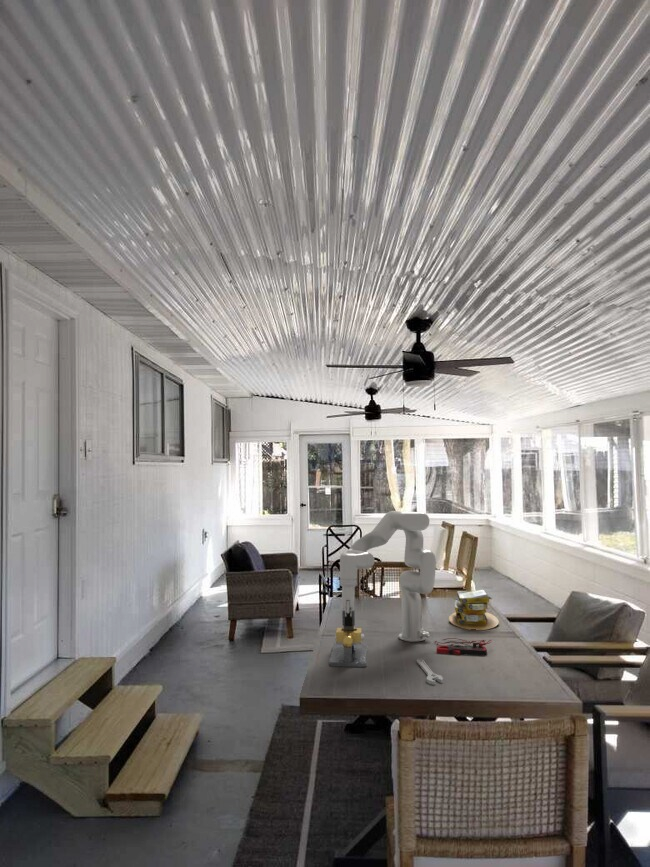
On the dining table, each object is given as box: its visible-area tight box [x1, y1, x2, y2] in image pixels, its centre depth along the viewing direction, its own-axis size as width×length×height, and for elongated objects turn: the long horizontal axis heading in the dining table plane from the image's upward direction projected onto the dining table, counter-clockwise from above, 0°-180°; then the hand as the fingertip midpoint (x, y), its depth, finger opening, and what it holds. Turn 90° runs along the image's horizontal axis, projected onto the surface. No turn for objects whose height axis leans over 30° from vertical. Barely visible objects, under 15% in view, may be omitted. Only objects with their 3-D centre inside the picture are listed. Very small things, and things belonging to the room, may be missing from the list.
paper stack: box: [448, 589, 500, 631], centre depth 287 cm, size 25×25×17 cm
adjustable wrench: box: [416, 658, 444, 686], centre depth 217 cm, size 25×6×2 cm, turn 1°
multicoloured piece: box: [328, 625, 368, 668], centre depth 237 cm, size 25×15×11 cm, turn 174°
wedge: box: [341, 609, 356, 631], centre depth 237 cm, size 2×5×12 cm, turn 85°
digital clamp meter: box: [434, 637, 492, 656], centre depth 248 cm, size 23×4×25 cm
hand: (348, 624), depth 237 cm, fingers closed on wedge, 2 cm apart
